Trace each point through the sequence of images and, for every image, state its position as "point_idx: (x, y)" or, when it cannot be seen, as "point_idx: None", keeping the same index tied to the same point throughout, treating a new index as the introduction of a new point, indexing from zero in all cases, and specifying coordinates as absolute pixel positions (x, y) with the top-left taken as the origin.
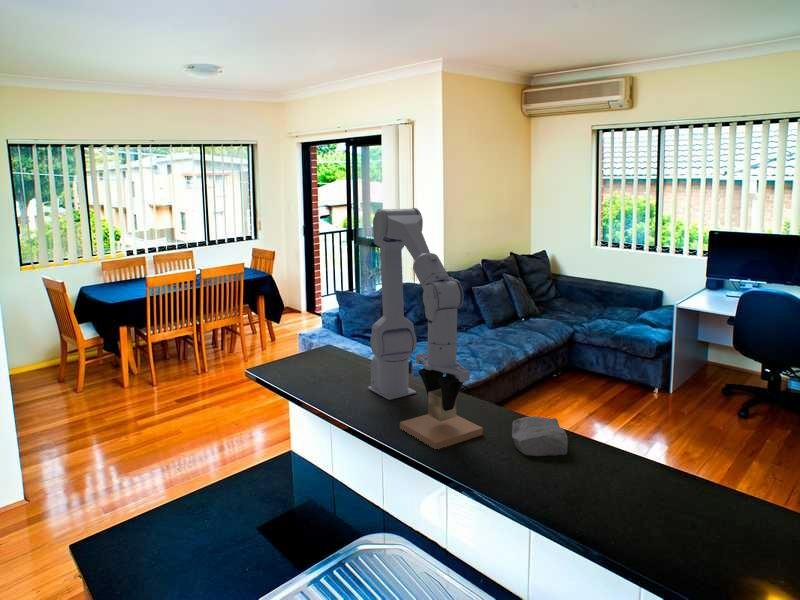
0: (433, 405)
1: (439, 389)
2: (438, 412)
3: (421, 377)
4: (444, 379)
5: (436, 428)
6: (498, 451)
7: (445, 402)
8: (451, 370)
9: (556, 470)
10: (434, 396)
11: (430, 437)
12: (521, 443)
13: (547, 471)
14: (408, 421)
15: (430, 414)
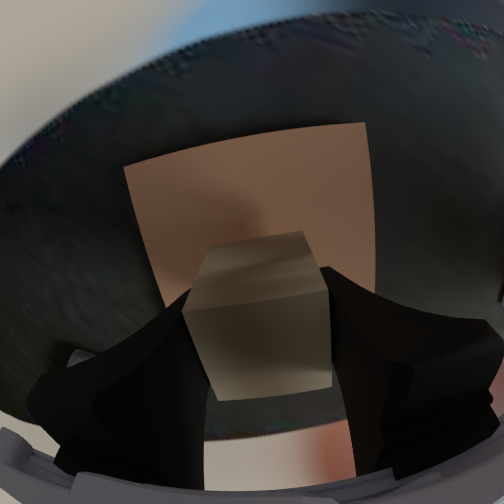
0: (264, 262)
1: (323, 362)
2: (221, 258)
3: (438, 318)
4: (49, 415)
5: (238, 225)
6: (92, 317)
7: (165, 310)
8: (11, 491)
9: (29, 346)
10: (256, 294)
11: (170, 165)
12: (70, 362)
13: (25, 334)
14: (355, 157)
15: (286, 235)
